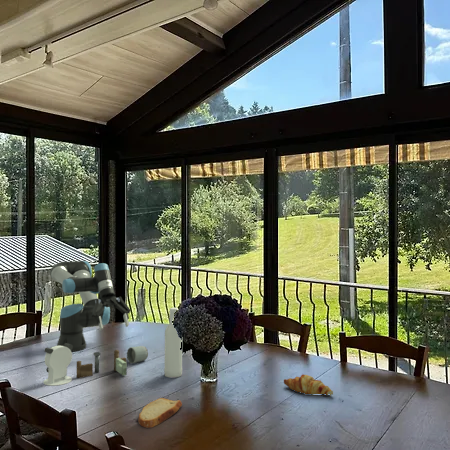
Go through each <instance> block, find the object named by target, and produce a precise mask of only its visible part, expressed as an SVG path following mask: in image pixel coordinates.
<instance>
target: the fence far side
mask: <svg viewBox="0 0 450 450" xmlns="http://www.w3.org/2000/svg"><path fill="white" fill-rule="evenodd" d="M93 365H94V364H93V363H86V364H82V361H81V360H77V361H76V379H81V378H87V377H92V376H94V375H93V374H94V371H93V369H94V366H93Z"/></svg>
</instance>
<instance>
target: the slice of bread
mask: <svg viewBox="0 0 450 450" xmlns="http://www.w3.org/2000/svg"><path fill="white" fill-rule="evenodd" d="M182 406H183V403H182V401H181V399H180V400H178V399H177V400H171V399H168V398H165V397H159V398H157V399H155V400H152V401H150V402H149V403H147V404H146V405H145V406H144V407H143V408H142V410H141V412H139V415H138V418H137V421H138V424H139V426H141V427H143V428H147V429H148V428H154V427H157V426H158V425H160V424H162V423H163V422H165V421H166V420H168V419H170V418H171V417H172V416H174V415H175V414H176V413H177V412H178V411H179V410H180V408H181V407H182Z"/></svg>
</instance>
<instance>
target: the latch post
mask: <svg viewBox="0 0 450 450" xmlns="http://www.w3.org/2000/svg"><path fill="white" fill-rule="evenodd" d="M93 356H94V374H99V373H100V356H101V352H100V351H96V352H93Z"/></svg>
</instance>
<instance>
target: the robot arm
mask: <svg viewBox="0 0 450 450" xmlns="http://www.w3.org/2000/svg"><path fill="white" fill-rule="evenodd" d="M91 266H92V265H91V264H90V262H88V261H86V260H78V261H74V260H73V261H60V262H57V263H56V264H54V265H53V266H52V267H51V268H50V270H49V276H50V278H51V279H52V280H53V281H54V282H56V283H60V285H62V287H61V288H62V290H63V293H65V294H73V293H78V295H79V296H80V299H81V301H82V303H72V304H68V305H65V306H63V307H61V309H60V312H59V313H60V315H59V319H60V320H59V322H60V323H59V324H60V325H59V326H60V327H59V338H58V340H57V343H56V346H64V344H65V343H67V344H71V345H72V346H73V349H72V350H71V352H72V353H73V352H74V353H76V352H80V351H83V350H85V349H86V348H87V342H86V338H85V336H84V329H85V328H92V327H99V331H103V329H104V326H105V325H108V323H109V322H110V317H111V308H113V307H114V308H115V309H117V310H118V311H119V312H121V313H122V314H123V316H122V317H123V320H124V324H125V327H126V328H128V326H129V325H130V324H129V320H130V316H129V314H130V313H131V312H132V311H131V309H130V307H129V306H128V305H127V303H126V302H125V301H124V300H123V298H122V296H119V297H116V293H115V290H114V285H113V281H112V277H111V271H110V269H109V265H108V264H107V263H104V262H102V263H101V262H100V263H98V264H96V265H95V266H94V268H93V269H92V267H91ZM93 272H94V275H93V277H92V274H93ZM98 294H99V298H98Z"/></svg>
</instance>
